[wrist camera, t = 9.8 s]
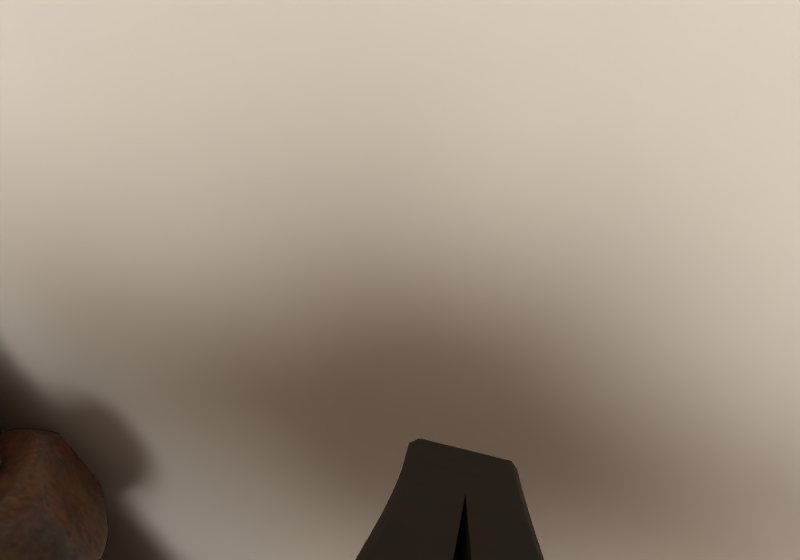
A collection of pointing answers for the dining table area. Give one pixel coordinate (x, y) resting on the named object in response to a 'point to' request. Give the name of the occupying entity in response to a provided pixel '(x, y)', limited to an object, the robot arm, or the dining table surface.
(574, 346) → the dining table surface
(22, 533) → the bolt
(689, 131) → the dining table surface
